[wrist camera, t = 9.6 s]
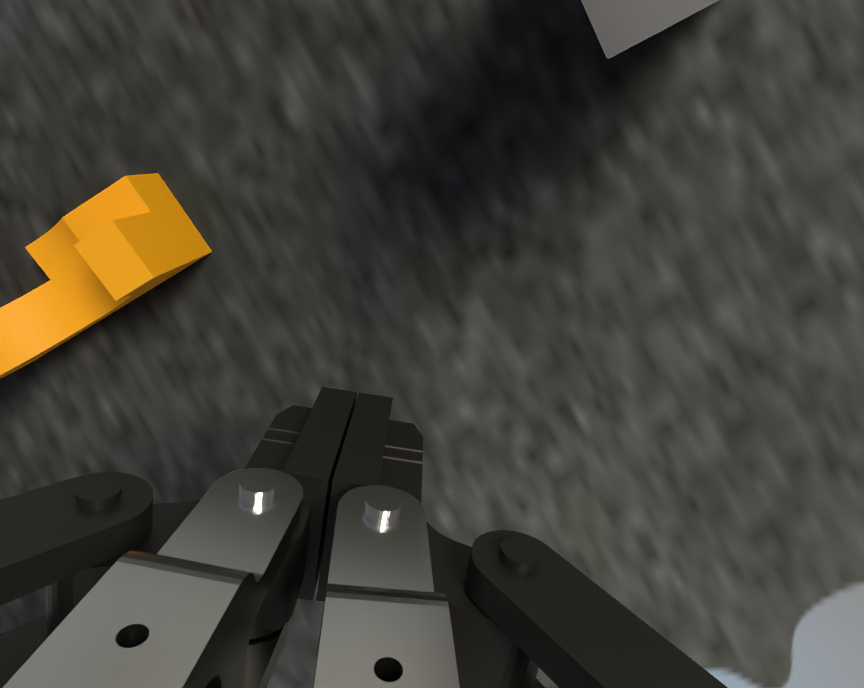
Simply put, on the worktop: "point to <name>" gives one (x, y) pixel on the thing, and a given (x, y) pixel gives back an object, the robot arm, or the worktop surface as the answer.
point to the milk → (635, 19)
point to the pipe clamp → (98, 265)
